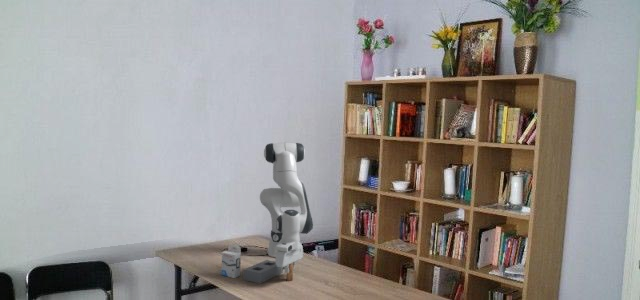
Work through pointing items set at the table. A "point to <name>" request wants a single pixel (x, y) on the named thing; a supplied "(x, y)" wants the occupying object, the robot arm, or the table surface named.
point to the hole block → (262, 271)
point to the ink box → (231, 261)
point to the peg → (290, 273)
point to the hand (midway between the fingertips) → (289, 271)
